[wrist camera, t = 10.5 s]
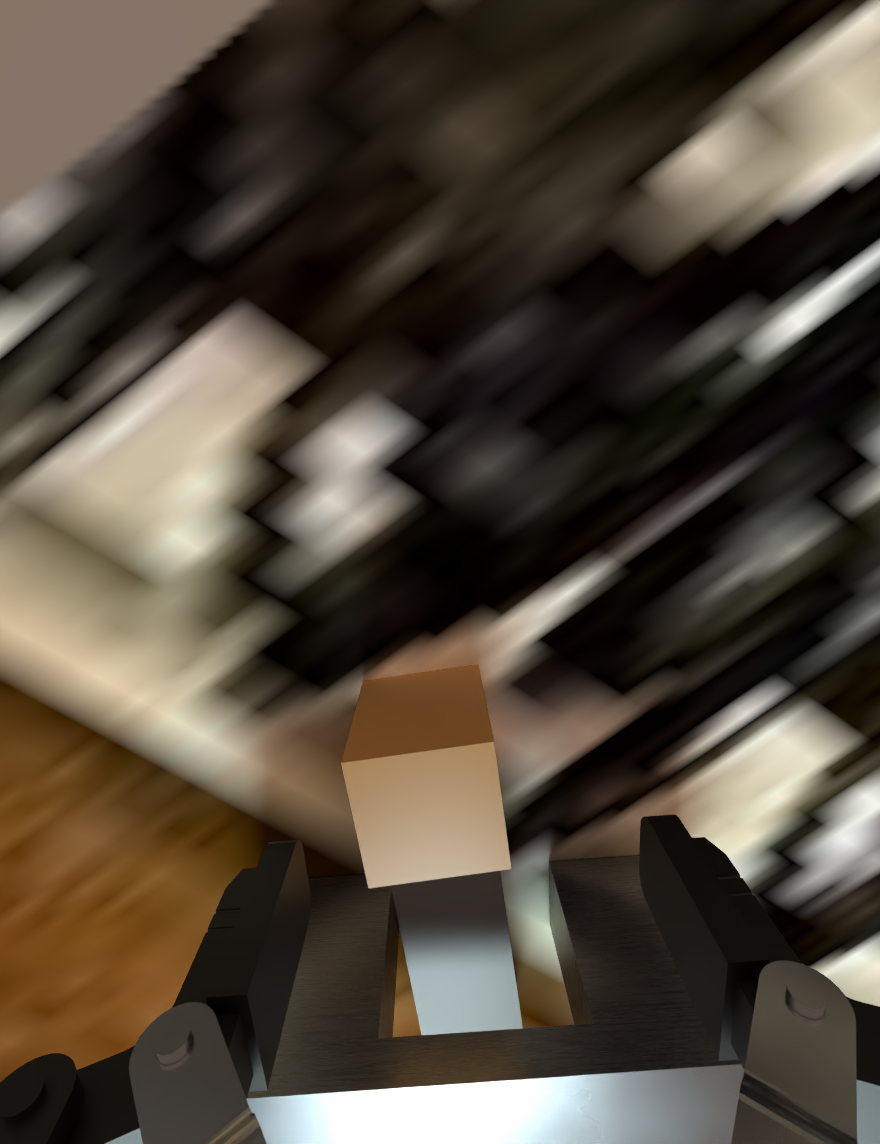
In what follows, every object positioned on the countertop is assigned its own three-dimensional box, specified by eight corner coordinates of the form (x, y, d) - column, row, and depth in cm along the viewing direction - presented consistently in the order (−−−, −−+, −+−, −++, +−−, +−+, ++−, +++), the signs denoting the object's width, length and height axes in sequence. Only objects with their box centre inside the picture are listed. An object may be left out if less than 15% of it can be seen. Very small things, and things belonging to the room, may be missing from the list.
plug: (522, 986, 22) (547, 1134, 17) (426, 999, 22) (425, 1150, 17) (478, 664, 18) (493, 741, 14) (363, 680, 18) (340, 763, 14)
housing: (272, 943, 21) (198, 1183, 14) (261, 881, 20) (177, 1104, 14) (676, 916, 21) (792, 1142, 14) (679, 852, 20) (803, 1059, 14)
